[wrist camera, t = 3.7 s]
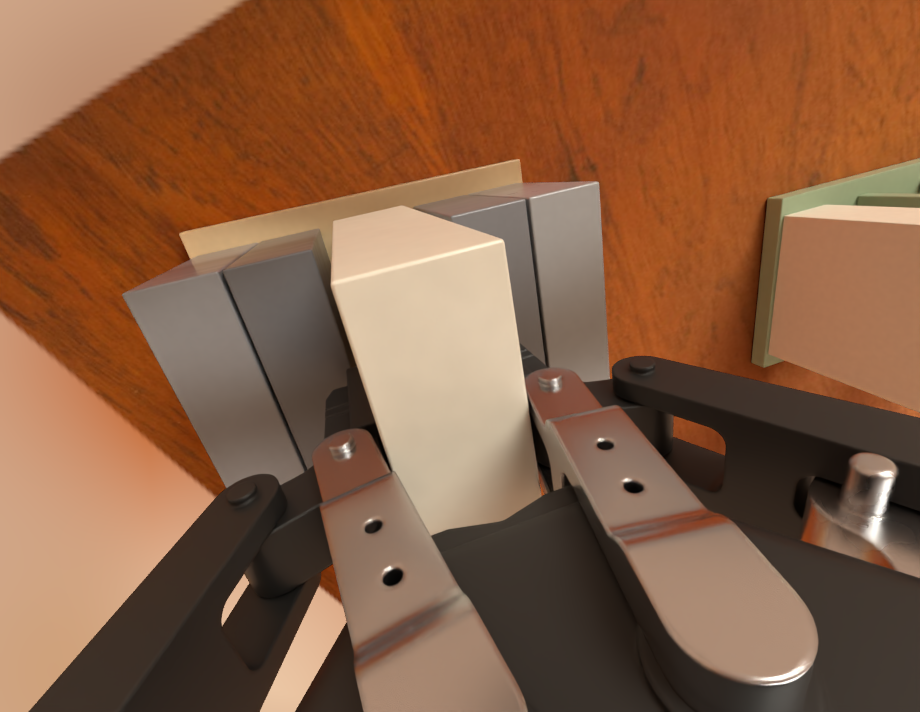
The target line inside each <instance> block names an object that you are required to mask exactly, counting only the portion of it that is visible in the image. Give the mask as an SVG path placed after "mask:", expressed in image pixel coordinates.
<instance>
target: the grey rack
mask: <svg viewBox="0 0 920 712" xmlns="http://www.w3.org/2000/svg"><path fill="white" fill-rule="evenodd" d="M401 205H402V206H406V207H409V208H411V209H414V210H417V211H420V212H423V213H426V214H429V215H432V216H435V217H438V218H441V219H444V220H447V221H450V222H453V223H456V224H459V225H462V226H465V227H468V228H471V229H474V230H477V231H480V232H483V233H486V234H489V235H492V236H495V237H498V238H501V239H503V241H504V243H505V250H506V257H507V264H508V271H509V277H510V284H511V291H512V298H513V305H514V311H515V318H516V325H517V332H518V339H519V343H521V344H522V345H523V346H524V347H525V348H526V349H527V350H529V351H530V352H531V353H532V354H533V355H534V356H536V357H537V358H538V359H539V360H540V361H542V362H543V363H544V364H545V365H546V366H547V367H548V368H552V367H558V368H565V369H569V370H571V371H573V372H575V373H576V374H577V375H578V376H579V377H580V379H581V380H582V381H583V382H591V381H599V380H607V379H610V374H609V356H608V338H607V319H606V301H605V283H604V265H603V246H602V228H601V210H600V191H599V182H597V181H593V182H543V183H523V182H522V174H521V166H520V160H519V159H514V160H509V161H504V162H499V163H495V164H490V165H486V166H481V167H477V168H472V169H467V170H463V171H458V172H454V173H449V174H445V175H440V176H435V177H431V178H426V179H422V180H417V181H413V182H408V183H403V184H399V185H394V186H390V187H385V188H380V189H376V190H371V191H367V192H362V193H358V194H353V195H348V196H344V197H339V198H335V199H330V200H326V201H321V202H316V203H312V204H307V205H303V206H298V207H294V208H289V209H284V210H280V211H275V212H271V213H266V214H261V215H257V216H252V217H248V218H243V219H239V220H234V221H229V222H225V223H220V224H216V225H211V226H207V227H202V228H197V229H193V230H188V231H185V232H181V233H179V236H180V238H181V240H182V242H183V245H184V247H185V249H186V251H187V253H188V256H189V258H190V260H188V261H186V262H184V263H182V264H180V265H179V266H177V267H175V268H173V269H171V270H169V271H167V272H165V273H163V274H161V275H159V276H157V277H155V278H153V279H151V280H149V281H147V282H145V283H143V284H141V285H139V286H137V287H135V288H133V289H131V290H129V291H127V292H125V293H123V294H122V296H123V298H124V300H125V302H126V303H127V305H128V307H129V309H130V311H131V313H132V314H133V316H134V318H135V320H136V322H137V324H138V326H139V327H140V329H141V331H142V333H143V335H144V337H145V338H146V340H147V342H148V344H149V346H150V348H151V350H152V351H153V353H154V355H155V357H156V359H157V361H158V363H159V364H160V366H161V368H162V370H163V372H164V374H165V375H166V377H167V379H168V381H169V383H170V385H171V387H172V388H173V390H174V392H175V394H176V396H177V398H178V399H179V401H180V403H181V405H182V407H183V409H184V411H185V412H186V414H187V416H188V418H189V420H190V422H191V424H192V425H193V427H194V429H195V431H196V433H197V435H198V436H199V438H200V440H201V442H202V444H203V446H204V448H205V449H206V451H207V453H208V455H209V457H210V459H211V461H212V462H213V464H214V466H215V468H216V470H217V472H218V473H219V475H220V477H221V479H222V481H223V483H224V485H225V486H226V488H228V487H229V486H231V485H232V484H234V483H236V482H237V481H239V480H241V479H244V478H246V477H249V476H252V475H257V474H271V475H274V476H275V477H276V478H277V479H278V481H279V483H280V485H282V484H283V483H285V482H287V481H289V480H291V479H293V478H295V477H297V476H298V475H300V474H302V473H304V472H305V471H306V470H308V469H309V468H310V467H312V466H313V461H312V453H313V451H314V449H315V448H316V446H317V445H318V444H319V443H320V442H321V441H323V440H324V435H325V419H326V418H325V411H326V409H325V408H326V399H327V398H328V396H329V395H330V394H331V392H332V391H333V390H334V389H338V388H341V387H345V386H347V372H346V370H347V369H350V368H354V367H357V365H356V362H355V359H354V356H353V353H352V350H351V347H350V344H349V341H348V338H347V335H346V332H345V328H344V325H343V322H342V319H341V316H340V313H339V310H338V307H337V304H336V301H335V298H334V295H333V292H332V289H331V259H332V231H333V221H336V220H340V219H344V218H349V217H353V216H357V215H362V214H366V213H371V212H375V211H379V210H384V209H388V208H392V207H397V206H401Z"/></svg>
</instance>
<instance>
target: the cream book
mask: <svg viewBox="0 0 920 712" xmlns="http://www.w3.org/2000/svg"><path fill="white" fill-rule="evenodd" d="M331 289H332V292H333V295H334V298H335V301H336V304H337V307H338V310H339V313H340V316H341V319H342V322H343V325H344V328H345V332H346V335H347V338H348V341H349V344H350V347H351V350H352V353H353V356H354V359H355V362H356V365H357V368H358V371H359V374H360V377H361V380H362V383H363V386H364V389H365V392H366V395H367V398H368V401H369V404H370V407H371V410H372V413H373V416H374V419H375V422H376V425H377V428H378V431H379V434H380V437H381V440H382V443H383V447H384V450H385V453H386V456H387V459H388V462H389V465H390V468H391V471H395V472H396V473H397V475H398V477H399V479H400V481H401V482H402V484H403V486H404V488H405V490H406V491H407V493H408V495H409V497H410V499H411V501H412V502H413V504H414V506H415V508H416V510H417V511H418V513H419V515H420V517H421V519H422V521H423V522H424V524H425V526H426V528H427V530H428V531H429V533H430V535H434V534H437V533H439V532H442V531H445V530H448V529H453V528H460V527H467V526H473V525H480V524H487V523H493V522H499V521H503V520H505V519H507V518H508V517H510V516H512V515H513V514H515V513H516V512H518V511H519V510H521V509H523V508H524V507H526V506H527V505H529V504H530V503H532V502H534V501H535V500H537V499H538V498H540V497H541V496H542V495H541V488H540V482H539V475H538V468H537V461H536V454H535V448H534V441H533V434H532V427H531V420H530V414H529V407H528V400H527V393H526V386H525V380H524V373H523V366H522V359H521V352H520V345H519V339H518V332H517V325H516V318H515V311H514V305H513V298H512V291H511V284H510V277H509V271H508V264H507V257H506V250H505V243H504V241H503V239H501V238H498V237H495V236H492V235H489V234H486V233H483V232H480V231H477V230H474V229H471V228H468V227H465V226H462V225H459V224H456V223H453V222H450V221H447V220H444V219H441V218H438V217H435V216H432V215H429V214H426V213H423V212H420V211H417V210H414V209H411V208H409V207H406V206H402V205H401V206H397V207H392V208H388V209H384V210H379V211H375V212H371V213H366V214H362V215H357V216H353V217H349V218H344V219H340V220H336V221H333V231H332V259H331Z"/></svg>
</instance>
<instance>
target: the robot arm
mask: <svg viewBox="0 0 920 712" xmlns="http://www.w3.org/2000/svg"><path fill="white" fill-rule="evenodd" d="M519 345H520V352H521V359H522V366H523V373H524V380H525V386H526V393H527V400H528V407H529V414H530V420H531V427H532V434H533V441H534V448H535V454H536V461H537V468H538V475H539V482H540V484H541V487H542V489H543V492H544V494H545V495H543V496H541V497H540V498H538V499H537V500H535V501H534V502H532V503H530V504H529V505H527V506H526V507H524V508H523V509H521V510H519V511H518V512H516V513H515V514H513V515H512V516H510V517H508V518H507V519H505V520H503V521H499V522H493V523H487V524H480V525H473V526H467V527H460V528H453V529H448V530H445V531H442V532H439V533H437V534H434V535H430V533H429V531H428V530H427V528H426V526H425V524H424V522H423V521H422V519H421V517H420V515H419V513H418V511H417V510H416V508H415V506H414V504H413V502H412V501H411V499H410V497H409V495H408V493H407V491H406V490H405V488H404V486H403V484H402V482H401V481H400V479H399V477H398V475H397V473H396V472H395V471H391V468H390V465H389V462H388V459H387V456H386V453H385V450H384V447H383V443H382V440H381V437H380V434H379V431H378V428H377V425H376V422H375V419H374V416H373V413H372V410H371V407H370V404H369V401H368V398H367V395H366V392H365V389H364V386H363V383H362V380H361V377H360V374H359V371H358V368H357V367H354V368H350V369H347V370H346V372H347V386H345V387H341V388H338V389H334V390H333V391H332V392H331V394H330V395H329V396H328V398H327V399H326V408H325V409H326V411H325V418H326V419H325V435H324V440H323V441H321V442H320V443H319V444H318V445H317V446H316V448H315V449H314V451H313V453H312V461H313V466H312V467H310V468H309V469H308V470H306V471H305V472H304V473H302V474H300V475H298V476H297V477H295V478H293V479H291V480H289V481H287V482H285V483H283V484H282V485H280V483H279V481H278V479H277V478H276V477H275V476H274V475H271V474H257V475H252V476H249V477H246V478H244V479H241V480H239V481H237V482H236V483H234V484H232V485H231V486H229V487H228V488H226V489H225V490H224V491H222V492H221V493H220V494H219V495H218V496H217V497H216V498H215V499H214V500H213V502H212V503H211V504H210V505H209V506H208V507H207V508H206V510H205V511H204V512H203V513H202V514H201V515H200V516H199V518H198V519H197V520H196V521H195V522H194V523H193V524H192V526H191V527H190V528H189V529H188V530H187V531H186V532H185V534H184V535H183V536H182V537H181V538H180V539H179V540H178V542H177V543H176V544H175V545H174V546H173V547H172V549H171V550H170V551H169V552H168V553H167V554H166V555H165V556H164V558H163V559H162V560H161V561H160V562H159V563H158V565H157V566H156V567H155V568H154V569H153V570H152V571H151V572H150V574H149V575H148V576H147V577H146V578H145V579H144V581H143V582H142V583H141V584H140V585H139V586H138V587H137V589H136V590H135V591H134V592H133V593H132V594H131V595H130V596H129V598H128V599H127V600H126V601H125V602H124V603H123V605H122V606H121V607H120V608H119V609H118V610H117V611H116V612H115V614H114V615H113V616H112V617H111V618H110V619H109V620H108V622H107V623H106V624H105V625H104V626H103V627H102V628H101V630H100V631H99V632H98V633H97V634H96V635H95V636H94V638H93V639H92V640H91V641H90V642H89V643H88V645H87V646H86V647H85V648H84V649H83V650H82V651H81V653H80V654H79V655H78V656H77V657H76V658H75V659H74V660H73V662H72V663H71V664H70V665H69V666H68V667H67V668H66V670H65V671H64V672H63V673H62V674H61V675H60V677H59V678H58V679H57V680H56V681H55V682H54V684H53V685H52V686H51V687H50V688H49V689H48V690H47V691H46V693H45V694H44V695H43V696H42V697H41V698H40V699H39V700H38V702H37V703H36V704H35V705H34V706H33V708H32V709H31V710H30V711H29V712H260V709H261V707H262V705H263V703H264V700H265V699H266V697H267V694H268V692H269V690H270V688H271V686H272V684H273V682H274V680H275V677H276V675H277V673H278V671H279V669H280V667H281V665H282V663H283V660H284V658H285V656H286V654H287V652H288V650H289V648H290V646H291V643H292V641H293V639H294V637H295V635H296V633H297V631H298V628H299V626H300V624H301V622H302V620H303V618H304V616H305V614H306V612H307V609H308V607H309V605H310V603H311V601H312V599H313V597H314V595H315V592H316V590H317V588H318V586H319V583H320V580H321V571H323V570H324V569H326V568H327V567H329V566H330V565H332V564H333V566H334V570H335V574H336V578H337V583H338V587H339V591H340V595H341V600H342V604H343V608H344V612H345V616H346V621H347V623H346V624H345V626H344V628H343V629H342V631H341V633H340V635H339V636H338V638H337V640H336V642H335V644H334V645H333V647H332V649H331V650H330V652H329V654H328V656H327V657H326V659H325V661H324V663H323V664H322V666H321V668H320V669H319V671H318V673H317V675H316V676H315V678H314V680H313V681H312V683H311V685H310V687H309V689H308V690H307V692H306V694H305V695H304V697H303V699H302V701H301V703H300V704H299V706H298V707H297V709H296V711H295V712H920V418H918V417H913V416H909V415H905V414H900V413H896V412H892V411H887V410H883V409H879V408H874V407H870V406H866V405H861V404H857V403H853V402H848V401H844V400H840V399H835V398H831V397H827V396H822V395H818V394H814V393H809V392H805V391H801V390H796V389H792V388H788V387H783V386H779V385H775V384H770V383H766V382H762V381H757V380H753V379H749V378H744V377H740V376H735V375H731V374H727V373H722V372H718V371H714V370H709V369H705V368H701V367H696V366H692V365H688V364H683V363H679V362H675V361H670V360H666V359H662V358H657V357H651V356H635V357H629V358H625V359H622V360H620V361H618V362H617V363H615V364H614V366H613V367H612V379H607V380H599V381H591V382H583V381H582V380H581V379H580V377H579V376H578V375H577V374H576V373H575V372H573V371H571V370H569V369H565V368H558V367H552V368H548V367H547V366H546V365H545V364H544V363H543V362H542V361H540V360H539V359H538V358H537V357H536V356H534V355H533V354H532V353H531V352H530V351H529V350H527V349H526V348H525V347H524V346H523V345H522V344H521V343H519ZM673 416H677V417H680V418H683V419H686V420H689V421H692V422H695V423H698V424H701V425H704V426H707V427H710V428H712V429H714V430H715V431H717V432H718V433H719V434H720V435H721V436H722V437H723V439H724V441H725V444H726V453H725V456H724V455H722V454H719V453H716V452H713V451H711V450H708V449H705V448H702V447H700V446H697V445H694V444H691V443H689V442H686V441H683V440H680V439H678V438H675V437H673ZM243 574H245V576H246V578H247V579H248V581H249V585H248V586H247V588H246V589H245V591H244V593H243V594H242V596H241V597H240V599H239V601H238V602H237V604H236V605H235V607H234V609H233V610H232V612H231V613H230V615H229V617H228V618H227V620H226V621H225V623H224V625H223V626H222V624H221V618H222V612H223V608H224V605H225V603H226V601H227V599H228V597H229V596H230V594H231V593H232V591H233V590H234V588H235V587H236V585H237V584H238V582H239V581H240V579H241V578H242V576H243Z"/></svg>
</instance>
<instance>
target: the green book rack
mask: <svg viewBox="0 0 920 712" xmlns="http://www.w3.org/2000/svg"><path fill="white" fill-rule="evenodd" d="M782 361H787V362H790V363H793V364H795V365H798V366H800V367H803V368H805V369H808V370H811V371H813V372H816V373H818V374H821V375H824V376H826V377H829V378H831V379H834V380H837V381H839V382H842V383H844V384H847V385H849V386H852V387H855V388H857V389H860V390H862V391H865V392H868V393H870V394H873V395H875V396H878V397H881V398H883V399H886V400H888V401H891V402H893V403H896V404H899V405H901V406H904V407H906V408H909V409H912V410H914V411H917V412H919V413H920V158H919V159H915V160H911V161H907V162H903V163H900V164H896V165H892V166H888V167H884V168H880V169H877V170H873V171H869V172H865V173H861V174H858V175H854V176H850V177H846V178H842V179H839V180H835V181H831V182H827V183H823V184H820V185H816V186H812V187H808V188H804V189H801V190H797V191H793V192H789V193H785V194H782V195H778V196H774V197H770V198H768V199H767V209H766V219H765V229H764V239H763V249H762V259H761V269H760V279H759V289H758V299H757V310H756V320H755V330H754V340H753V350H752V360H751V363H753V364H756V365H758V366H760V367H763V368H765V367H768V366H770V365H773V364H776V363H779V362H782Z"/></svg>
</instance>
